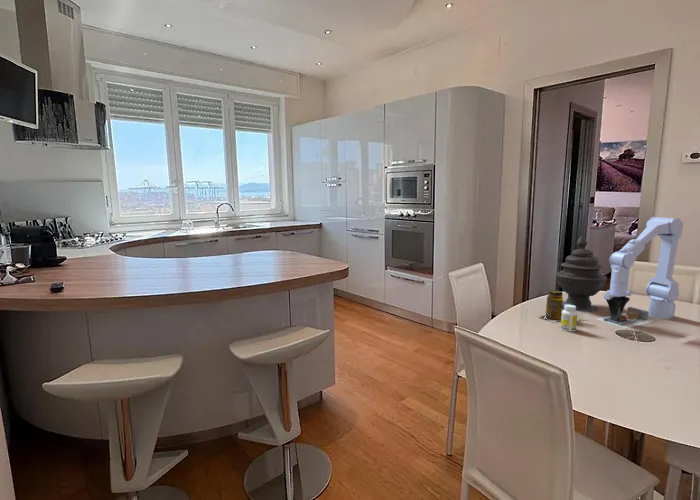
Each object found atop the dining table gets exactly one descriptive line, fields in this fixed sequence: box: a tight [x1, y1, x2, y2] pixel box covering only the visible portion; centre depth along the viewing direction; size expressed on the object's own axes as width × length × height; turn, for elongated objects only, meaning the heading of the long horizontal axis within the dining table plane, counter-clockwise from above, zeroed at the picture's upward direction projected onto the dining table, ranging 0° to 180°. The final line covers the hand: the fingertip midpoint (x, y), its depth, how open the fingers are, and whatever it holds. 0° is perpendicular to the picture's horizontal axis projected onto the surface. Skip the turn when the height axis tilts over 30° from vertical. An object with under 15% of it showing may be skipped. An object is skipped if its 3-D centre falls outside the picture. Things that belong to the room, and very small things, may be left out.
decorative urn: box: [555, 235, 608, 313], centre depth 174 cm, size 20×20×35 cm
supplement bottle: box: [560, 304, 578, 333], centre depth 150 cm, size 5×5×10 cm
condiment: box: [538, 289, 564, 323], centre depth 164 cm, size 7×8×12 cm
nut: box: [626, 310, 639, 320], centre depth 159 cm, size 4×4×3 cm
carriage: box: [607, 307, 628, 324], centre depth 155 cm, size 6×4×6 cm
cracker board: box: [596, 306, 656, 329], centre depth 158 cm, size 20×12×5 cm, turn 114°
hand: (615, 314), depth 154 cm, fingers closed on carriage, 2 cm apart
